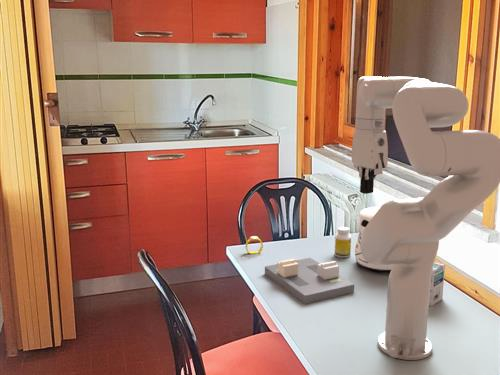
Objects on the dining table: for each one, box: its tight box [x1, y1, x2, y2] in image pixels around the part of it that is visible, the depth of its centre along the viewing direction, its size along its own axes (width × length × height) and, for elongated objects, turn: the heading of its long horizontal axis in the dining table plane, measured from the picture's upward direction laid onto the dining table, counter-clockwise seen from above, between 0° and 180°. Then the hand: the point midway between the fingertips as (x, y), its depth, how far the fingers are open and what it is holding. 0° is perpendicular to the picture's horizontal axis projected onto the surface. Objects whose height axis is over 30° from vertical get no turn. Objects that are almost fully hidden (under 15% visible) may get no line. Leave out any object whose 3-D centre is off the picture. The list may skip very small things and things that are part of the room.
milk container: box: [354, 206, 394, 272], centre depth 183 cm, size 17×17×18 cm
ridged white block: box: [318, 260, 340, 280], centre depth 170 cm, size 4×5×4 cm
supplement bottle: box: [334, 226, 352, 259], centre depth 193 cm, size 5×5×10 cm
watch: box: [245, 235, 264, 255], centre depth 196 cm, size 6×3×6 cm, turn 102°
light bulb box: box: [429, 261, 446, 307], centre depth 160 cm, size 11×7×11 cm, turn 47°
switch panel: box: [264, 257, 355, 305], centre depth 171 cm, size 24×17×2 cm
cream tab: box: [277, 258, 298, 277], centre depth 171 cm, size 4×5×4 cm
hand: (366, 192), depth 151 cm, fingers closed
